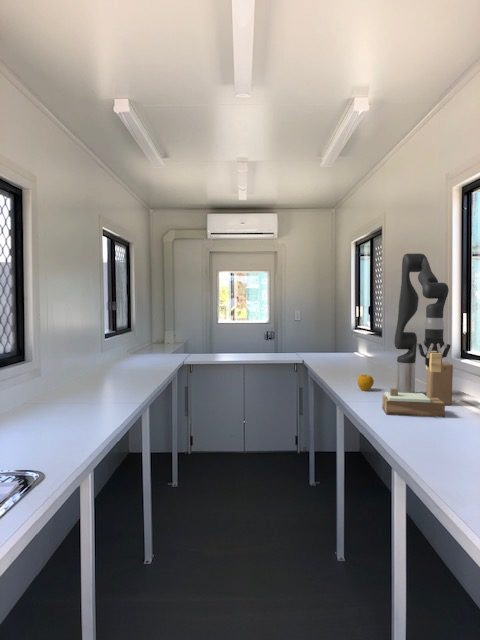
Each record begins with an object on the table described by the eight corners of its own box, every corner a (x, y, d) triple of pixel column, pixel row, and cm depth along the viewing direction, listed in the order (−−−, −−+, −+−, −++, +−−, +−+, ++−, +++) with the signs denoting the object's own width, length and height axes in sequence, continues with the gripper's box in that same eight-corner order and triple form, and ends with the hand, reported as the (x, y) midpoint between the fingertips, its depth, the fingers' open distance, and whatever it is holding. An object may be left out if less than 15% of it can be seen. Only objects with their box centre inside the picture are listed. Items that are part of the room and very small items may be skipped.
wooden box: (382, 408, 208) (382, 395, 208) (436, 410, 205) (437, 397, 204) (386, 414, 197) (386, 401, 196) (444, 417, 193) (444, 403, 193)
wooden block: (452, 405, 214) (453, 364, 213) (429, 404, 216) (431, 363, 215) (446, 401, 224) (448, 361, 223) (425, 400, 226) (426, 360, 225)
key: (425, 368, 203) (426, 351, 203) (435, 368, 203) (435, 351, 202) (431, 371, 194) (431, 353, 194) (440, 372, 194) (441, 353, 193)
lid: (384, 394, 208) (384, 385, 208) (423, 396, 206) (423, 387, 206) (389, 400, 196) (389, 391, 195) (430, 402, 193) (430, 392, 193)
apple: (375, 390, 250) (376, 374, 249) (369, 392, 243) (369, 376, 243) (361, 388, 255) (362, 372, 255) (354, 390, 249) (354, 374, 249)
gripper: (448, 327, 200) (447, 365, 201) (415, 327, 202) (414, 364, 203) (454, 328, 193) (452, 368, 194) (419, 328, 195) (418, 367, 196)
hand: (433, 366), depth 198 cm, fingers closed on key, 4 cm apart
